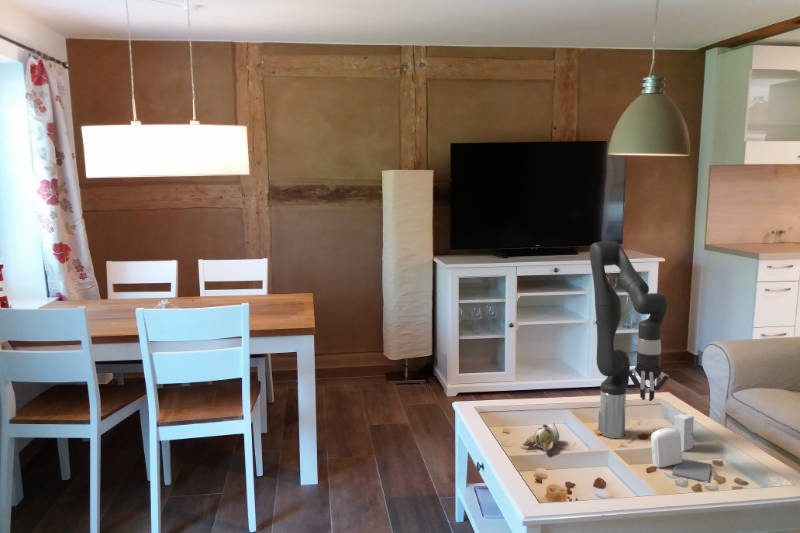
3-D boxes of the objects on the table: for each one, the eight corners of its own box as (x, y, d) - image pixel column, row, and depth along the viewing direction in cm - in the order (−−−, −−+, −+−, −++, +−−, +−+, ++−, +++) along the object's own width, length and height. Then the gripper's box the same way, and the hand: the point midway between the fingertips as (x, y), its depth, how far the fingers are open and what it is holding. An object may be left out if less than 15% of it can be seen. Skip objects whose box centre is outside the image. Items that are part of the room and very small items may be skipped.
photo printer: (658, 469, 196) (656, 433, 196) (650, 464, 201) (648, 429, 200) (684, 463, 199) (682, 428, 198) (675, 458, 203) (673, 424, 202)
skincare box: (684, 452, 210) (685, 419, 208) (672, 447, 213) (673, 416, 212) (693, 447, 213) (694, 416, 212) (681, 443, 217) (683, 412, 215)
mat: (672, 475, 192) (672, 473, 192) (677, 458, 204) (677, 457, 204) (708, 482, 187) (708, 480, 187) (711, 465, 199) (711, 463, 199)
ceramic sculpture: (566, 421, 217) (547, 436, 206) (567, 443, 218) (547, 459, 207) (540, 415, 224) (520, 429, 213) (541, 436, 225) (521, 451, 215)
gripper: (625, 351, 199) (624, 399, 201) (669, 356, 192) (667, 406, 194) (629, 346, 206) (628, 393, 208) (672, 351, 199) (670, 400, 200)
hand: (647, 399), depth 201 cm, fingers closed
